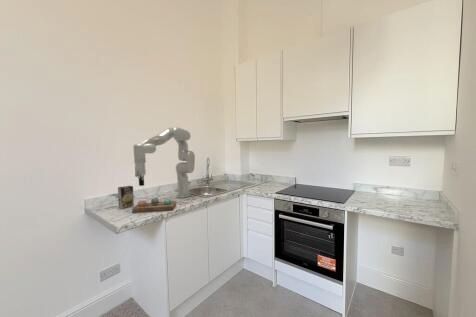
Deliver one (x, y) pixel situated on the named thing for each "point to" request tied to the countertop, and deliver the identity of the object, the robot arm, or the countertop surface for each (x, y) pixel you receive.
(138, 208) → the button panel
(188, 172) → the robot arm
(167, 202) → the button teal one
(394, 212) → the countertop surface
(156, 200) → the button charcoal three
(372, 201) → the countertop surface
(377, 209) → the countertop surface
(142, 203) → the button terracotta two
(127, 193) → the coffee box
